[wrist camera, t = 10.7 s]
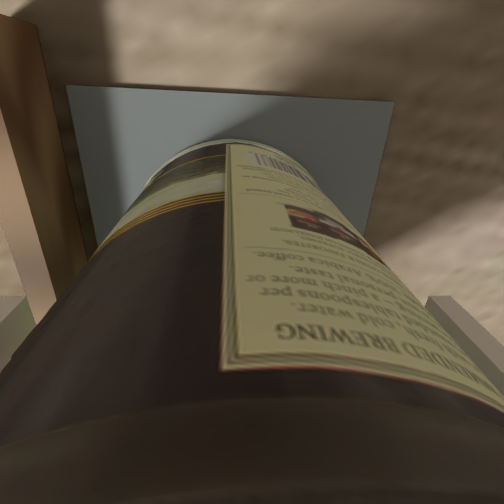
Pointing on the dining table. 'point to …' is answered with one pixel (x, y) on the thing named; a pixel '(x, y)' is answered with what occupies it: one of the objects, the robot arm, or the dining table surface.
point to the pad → (223, 127)
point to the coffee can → (243, 360)
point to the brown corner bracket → (34, 173)
